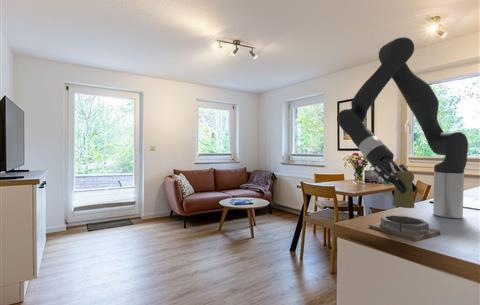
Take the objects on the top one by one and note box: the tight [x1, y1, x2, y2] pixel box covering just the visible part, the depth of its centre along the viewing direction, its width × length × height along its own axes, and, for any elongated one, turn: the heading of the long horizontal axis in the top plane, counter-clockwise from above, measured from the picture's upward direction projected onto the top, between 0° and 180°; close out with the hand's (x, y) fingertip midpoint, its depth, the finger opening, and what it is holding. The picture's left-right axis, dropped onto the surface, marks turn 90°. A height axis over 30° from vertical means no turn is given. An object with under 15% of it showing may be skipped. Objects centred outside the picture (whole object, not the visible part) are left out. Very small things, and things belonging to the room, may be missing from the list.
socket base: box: [368, 214, 441, 242], centre depth 82 cm, size 14×14×4 cm
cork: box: [391, 170, 416, 209], centre depth 82 cm, size 6×6×11 cm
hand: (410, 191), depth 80 cm, fingers closed on cork, 5 cm apart
